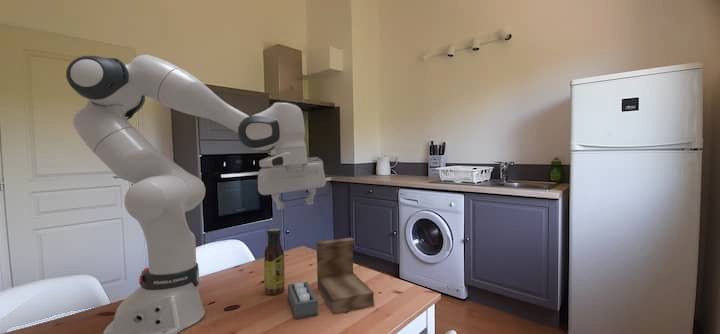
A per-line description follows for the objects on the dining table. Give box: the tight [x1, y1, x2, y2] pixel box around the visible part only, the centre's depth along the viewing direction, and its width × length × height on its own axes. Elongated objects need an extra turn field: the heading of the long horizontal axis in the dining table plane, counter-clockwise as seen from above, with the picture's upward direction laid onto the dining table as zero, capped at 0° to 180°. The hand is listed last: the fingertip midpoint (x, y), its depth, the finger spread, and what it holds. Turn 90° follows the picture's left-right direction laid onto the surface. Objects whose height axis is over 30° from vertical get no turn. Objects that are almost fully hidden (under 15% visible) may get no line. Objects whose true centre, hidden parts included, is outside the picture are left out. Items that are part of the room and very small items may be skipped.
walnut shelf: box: [316, 237, 375, 315], centre depth 99 cm, size 12×18×16 cm, turn 21°
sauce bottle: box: [263, 228, 286, 295], centre depth 104 cm, size 6×6×20 cm
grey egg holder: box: [287, 281, 319, 321], centre depth 93 cm, size 6×14×5 cm, turn 21°
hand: (295, 206), depth 94 cm, fingers open, 8 cm apart
